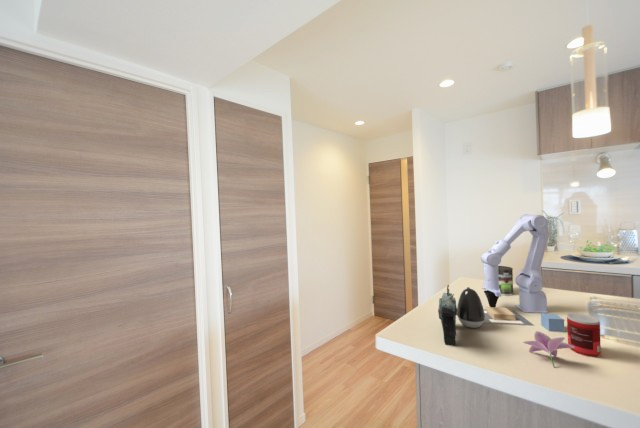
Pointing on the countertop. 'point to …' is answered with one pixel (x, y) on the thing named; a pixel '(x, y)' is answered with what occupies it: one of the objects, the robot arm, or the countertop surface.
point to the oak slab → (500, 314)
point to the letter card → (518, 320)
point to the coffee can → (505, 280)
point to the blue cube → (552, 322)
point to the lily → (547, 344)
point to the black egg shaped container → (470, 309)
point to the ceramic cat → (448, 317)
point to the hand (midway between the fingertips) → (492, 306)
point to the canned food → (584, 334)
